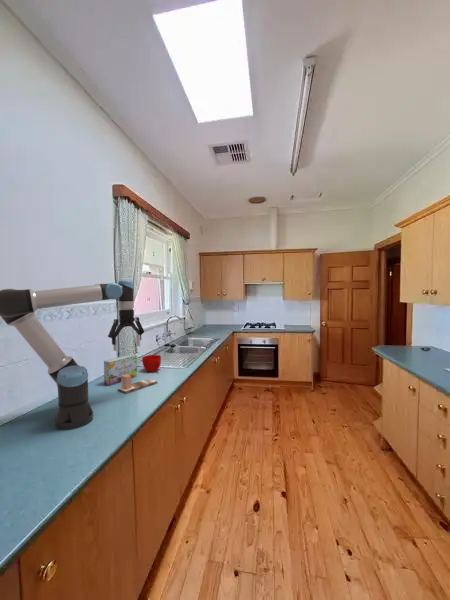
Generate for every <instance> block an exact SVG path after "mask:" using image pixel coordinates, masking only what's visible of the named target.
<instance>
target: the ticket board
mask: <svg viewBox="0 0 450 600" xmlns="http://www.w3.org/2000/svg"><path fill="white" fill-rule="evenodd" d="M156 384H158V381H157V380H154V379H150V378H146V379H142V380H140V381H137V382H133V383H131V386H133V387H135V389H132V390H129V391H126V392H125V391H123V390H121V389H118V388H117V390H118V391H119V392H121V393H124V394H126V395H127V394H130V393H133V392H136V391H140V390H141V389H145V388H147V387H151V386H154V385H156Z"/></svg>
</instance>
